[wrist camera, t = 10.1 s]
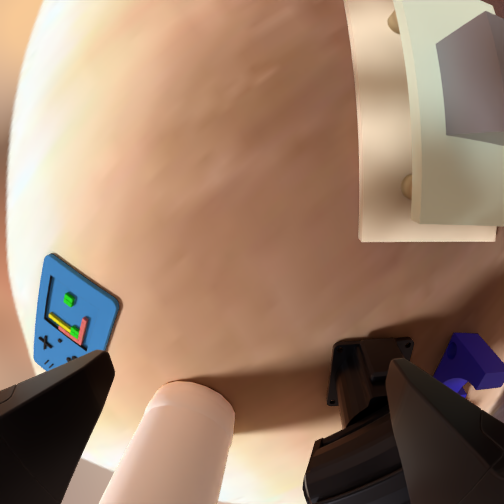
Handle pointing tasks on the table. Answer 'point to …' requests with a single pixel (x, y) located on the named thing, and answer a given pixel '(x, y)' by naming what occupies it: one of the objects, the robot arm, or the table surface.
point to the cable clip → (469, 364)
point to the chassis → (388, 133)
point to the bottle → (176, 449)
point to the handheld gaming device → (70, 315)
